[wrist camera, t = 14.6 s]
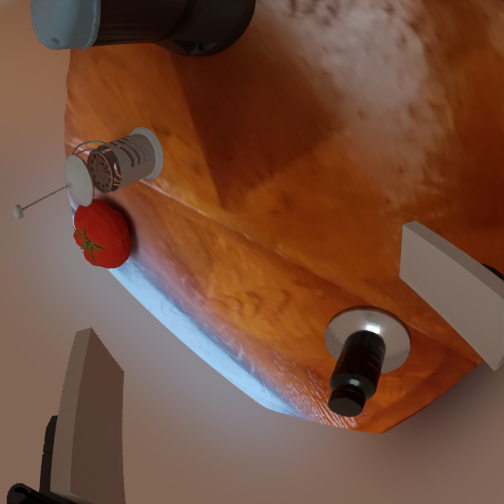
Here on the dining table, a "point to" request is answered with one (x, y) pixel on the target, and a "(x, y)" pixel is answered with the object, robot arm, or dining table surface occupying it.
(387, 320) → the hub disc
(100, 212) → the tomato
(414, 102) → the dining table surface
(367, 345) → the supplement bottle
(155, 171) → the french press
